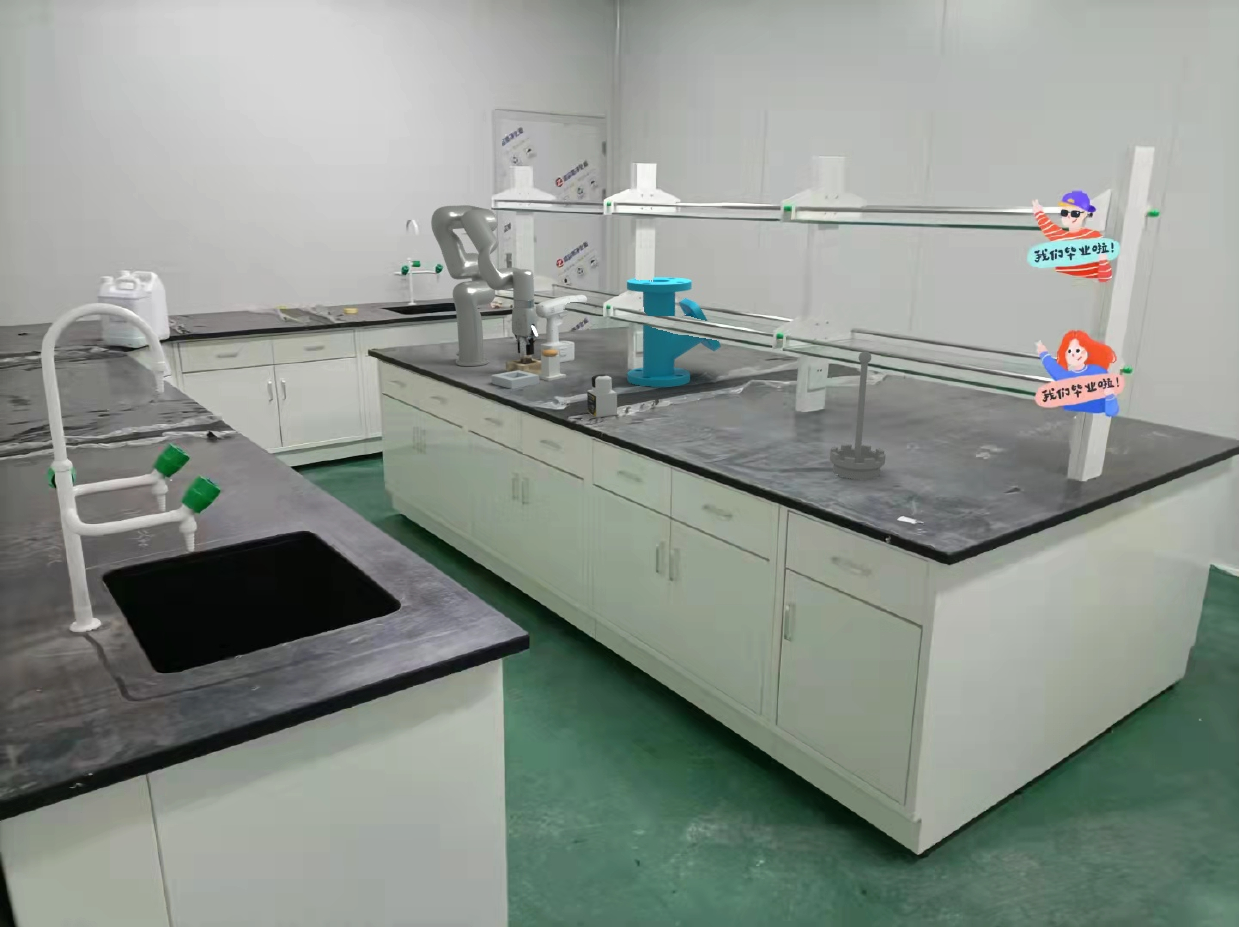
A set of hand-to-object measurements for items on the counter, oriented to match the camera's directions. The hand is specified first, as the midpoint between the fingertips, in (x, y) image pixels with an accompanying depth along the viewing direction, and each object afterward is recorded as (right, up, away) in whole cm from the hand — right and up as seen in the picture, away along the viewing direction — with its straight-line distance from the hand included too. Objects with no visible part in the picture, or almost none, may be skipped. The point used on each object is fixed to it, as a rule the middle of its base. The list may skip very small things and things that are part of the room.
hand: (526, 353), depth 331 cm
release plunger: (+10, -8, -7) cm, 14 cm away
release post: (+10, -10, -6) cm, 15 cm away
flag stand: (+93, -43, -112) cm, 152 cm away
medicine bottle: (+29, -26, -56) cm, 69 cm away
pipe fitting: (+53, -11, -11) cm, 56 cm away
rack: (0, -7, +2) cm, 7 cm away
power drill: (+12, 0, +25) cm, 28 cm away
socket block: (-2, -13, -15) cm, 20 cm away
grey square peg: (0, -4, +1) cm, 4 cm away
